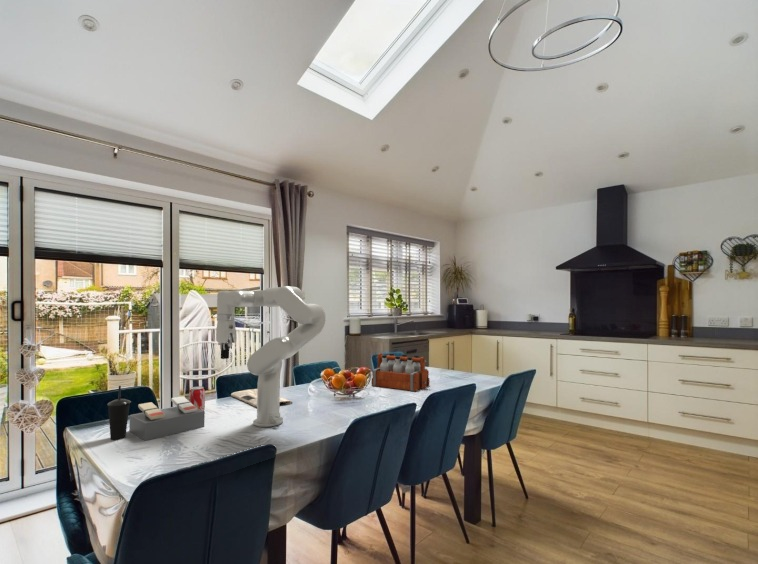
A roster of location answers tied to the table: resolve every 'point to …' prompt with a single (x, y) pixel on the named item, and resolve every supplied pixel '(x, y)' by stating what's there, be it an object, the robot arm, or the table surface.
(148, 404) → the sand rocker
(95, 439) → the table surface
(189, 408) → the white rocker
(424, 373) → the milk bottle holder
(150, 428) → the switch box
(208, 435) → the table surface
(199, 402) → the soda can
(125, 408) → the drinking cup
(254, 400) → the newspaper
